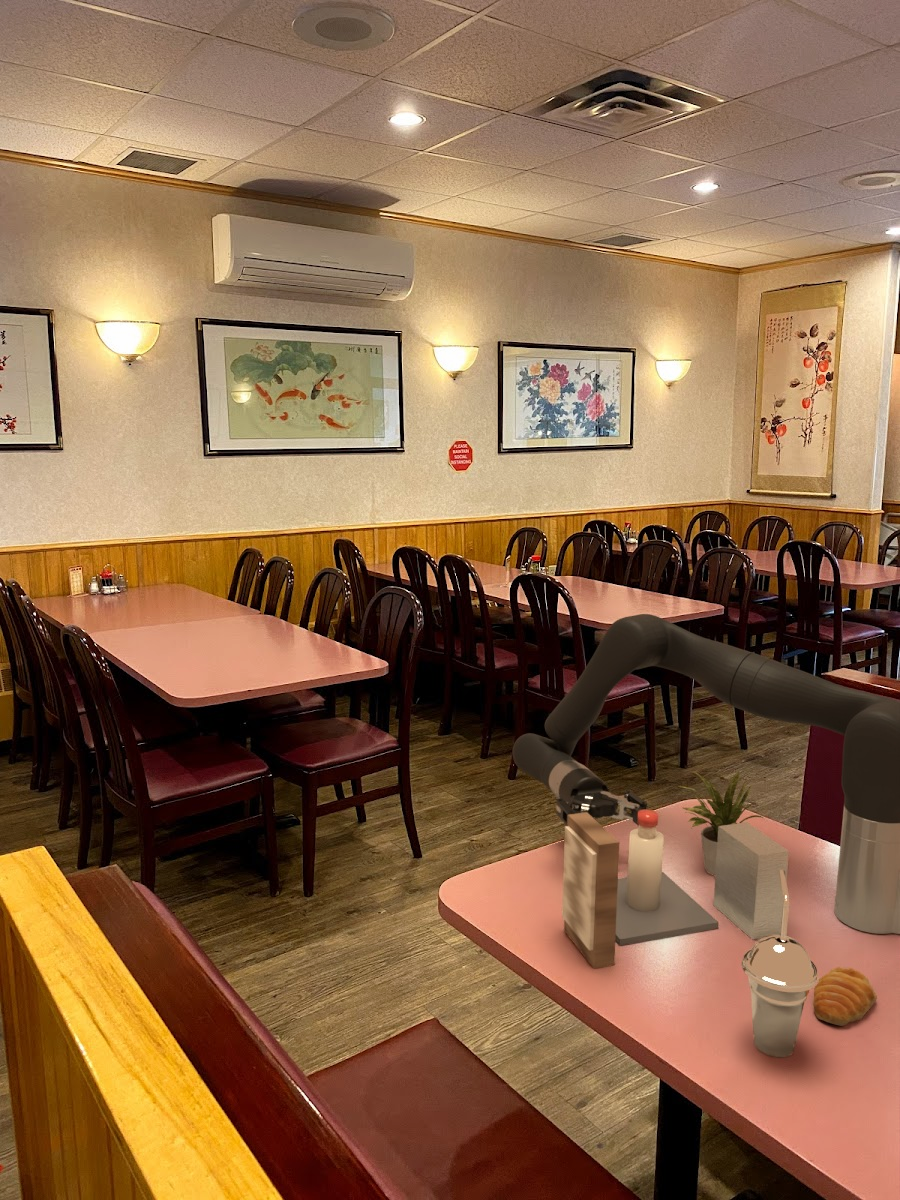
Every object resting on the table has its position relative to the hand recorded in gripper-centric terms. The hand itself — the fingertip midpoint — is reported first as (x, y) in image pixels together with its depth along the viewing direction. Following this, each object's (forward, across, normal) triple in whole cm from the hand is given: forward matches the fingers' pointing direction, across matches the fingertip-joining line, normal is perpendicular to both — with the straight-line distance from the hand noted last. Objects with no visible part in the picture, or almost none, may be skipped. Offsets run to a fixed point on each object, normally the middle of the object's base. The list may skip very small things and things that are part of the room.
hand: (622, 827), depth 144 cm
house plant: (-2, +20, +11) cm, 22 cm away
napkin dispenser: (+14, +14, +10) cm, 22 cm away
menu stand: (+14, -12, +10) cm, 21 cm away
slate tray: (+7, 0, +10) cm, 12 cm away
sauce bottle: (+7, 0, +9) cm, 12 cm away
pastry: (+35, +13, +11) cm, 39 cm away
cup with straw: (+39, 0, +10) cm, 40 cm away
